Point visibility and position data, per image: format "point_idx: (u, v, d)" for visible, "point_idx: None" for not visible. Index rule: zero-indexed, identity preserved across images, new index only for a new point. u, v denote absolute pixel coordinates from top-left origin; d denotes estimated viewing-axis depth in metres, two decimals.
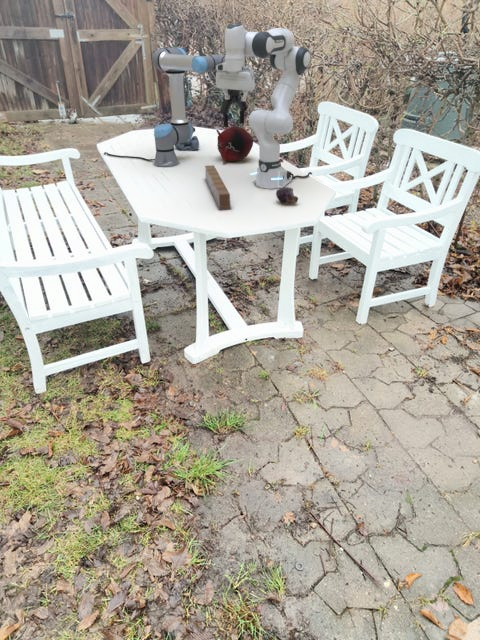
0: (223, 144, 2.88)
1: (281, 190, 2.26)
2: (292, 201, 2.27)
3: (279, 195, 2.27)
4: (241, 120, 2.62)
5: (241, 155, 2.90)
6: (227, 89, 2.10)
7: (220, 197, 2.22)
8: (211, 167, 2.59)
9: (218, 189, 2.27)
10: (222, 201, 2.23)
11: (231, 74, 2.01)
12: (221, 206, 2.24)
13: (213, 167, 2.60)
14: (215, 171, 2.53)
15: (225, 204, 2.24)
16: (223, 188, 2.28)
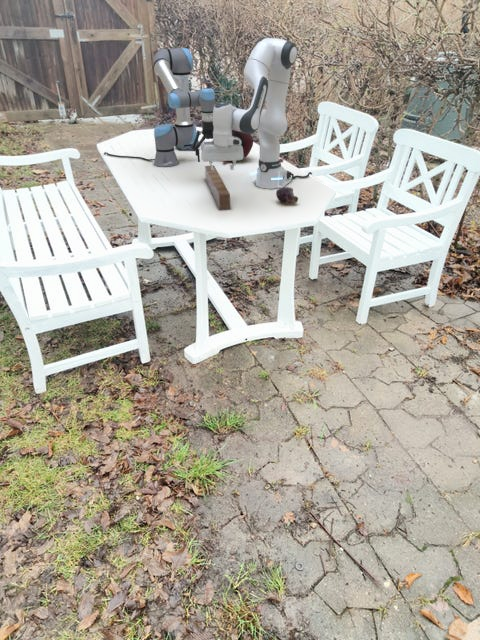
0: None
1: (281, 190, 2.26)
2: (292, 201, 2.27)
3: (279, 195, 2.27)
4: None
5: None
6: (233, 161, 2.17)
7: (220, 197, 2.22)
8: None
9: (218, 189, 2.27)
10: (222, 201, 2.23)
11: None
12: (221, 206, 2.24)
13: None
14: (215, 171, 2.53)
15: (225, 204, 2.24)
16: (223, 188, 2.28)
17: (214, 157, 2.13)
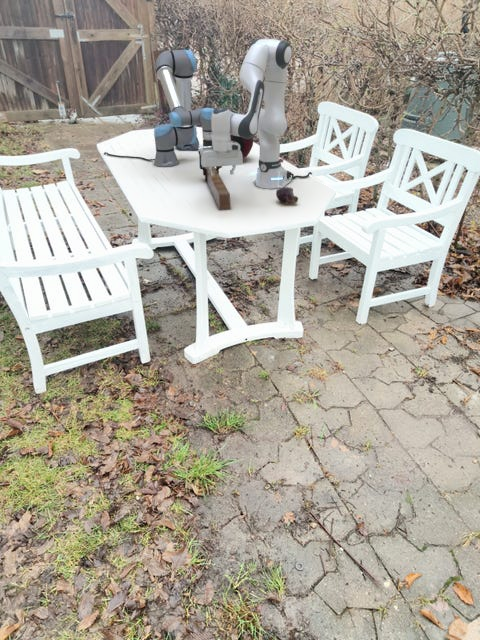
0: None
1: (281, 190, 2.26)
2: (292, 201, 2.27)
3: (279, 195, 2.27)
4: None
5: None
6: (232, 166, 2.18)
7: (220, 197, 2.22)
8: None
9: (218, 189, 2.27)
10: (222, 201, 2.23)
11: None
12: (221, 206, 2.24)
13: (213, 167, 2.60)
14: (215, 171, 2.53)
15: (225, 204, 2.24)
16: (223, 188, 2.28)
17: (214, 163, 2.15)
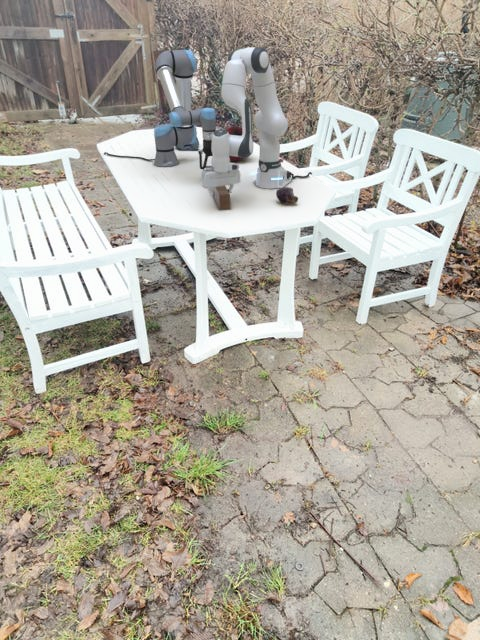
0: None
1: (281, 190, 2.26)
2: (292, 201, 2.27)
3: (279, 195, 2.27)
4: None
5: None
6: (231, 185, 2.25)
7: (220, 197, 2.22)
8: None
9: (218, 189, 2.27)
10: (222, 201, 2.23)
11: None
12: (221, 206, 2.24)
13: None
14: None
15: (225, 204, 2.24)
16: (223, 188, 2.28)
17: (215, 183, 2.19)
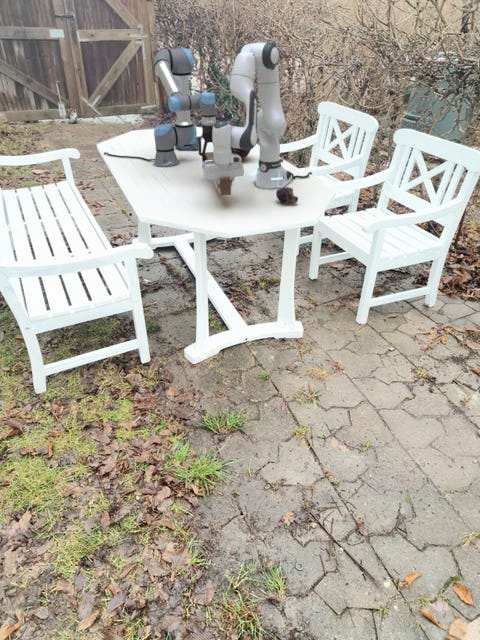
0: None
1: (281, 190, 2.26)
2: (292, 201, 2.27)
3: (279, 195, 2.27)
4: None
5: (241, 155, 2.90)
6: (231, 178, 2.22)
7: (221, 182, 2.18)
8: (210, 154, 2.55)
9: None
10: (223, 186, 2.19)
11: None
12: (222, 192, 2.21)
13: (212, 154, 2.56)
14: None
15: (226, 190, 2.21)
16: None
17: (216, 175, 2.18)
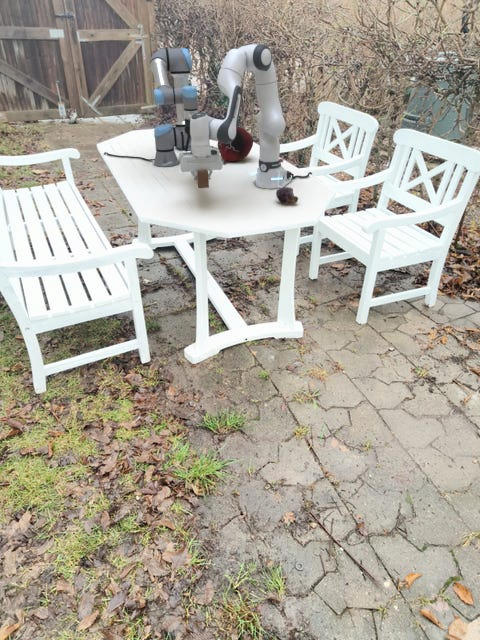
0: (223, 144, 2.88)
1: (281, 190, 2.26)
2: (292, 201, 2.27)
3: (279, 195, 2.27)
4: None
5: (241, 155, 2.90)
6: (209, 171, 2.18)
7: (198, 175, 2.15)
8: None
9: None
10: (200, 179, 2.16)
11: None
12: (199, 184, 2.17)
13: None
14: None
15: (203, 182, 2.17)
16: None
17: (193, 167, 2.15)
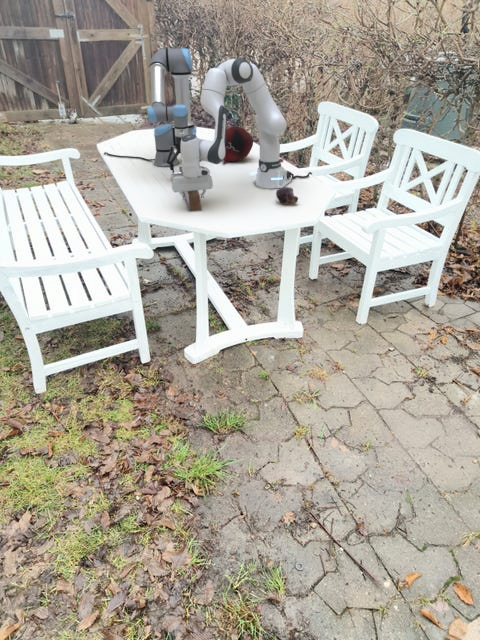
0: None
1: (281, 190, 2.26)
2: (292, 201, 2.27)
3: (279, 195, 2.27)
4: None
5: (241, 155, 2.90)
6: (203, 190, 2.24)
7: (190, 198, 2.21)
8: None
9: None
10: (192, 202, 2.22)
11: None
12: (191, 207, 2.23)
13: None
14: None
15: (195, 205, 2.23)
16: None
17: (184, 188, 2.20)
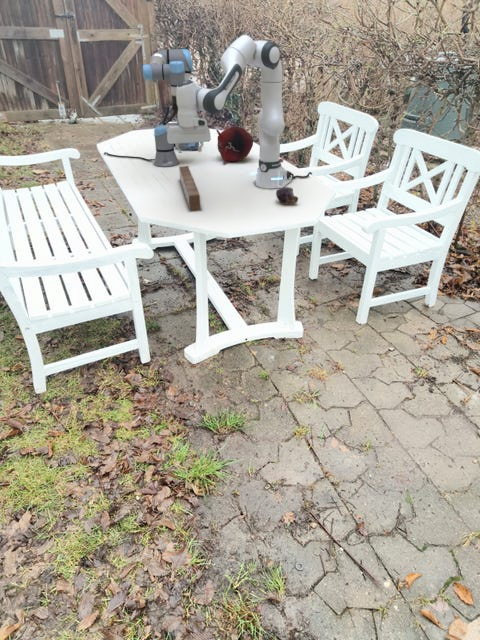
0: (223, 144, 2.88)
1: (281, 190, 2.26)
2: (292, 201, 2.27)
3: (279, 195, 2.27)
4: None
5: (241, 155, 2.90)
6: (200, 143, 2.11)
7: (190, 198, 2.21)
8: (185, 168, 2.58)
9: (188, 190, 2.26)
10: (192, 202, 2.22)
11: None
12: (191, 207, 2.23)
13: (187, 168, 2.59)
14: (188, 172, 2.52)
15: (195, 205, 2.23)
16: (193, 189, 2.27)
17: (180, 139, 2.07)
